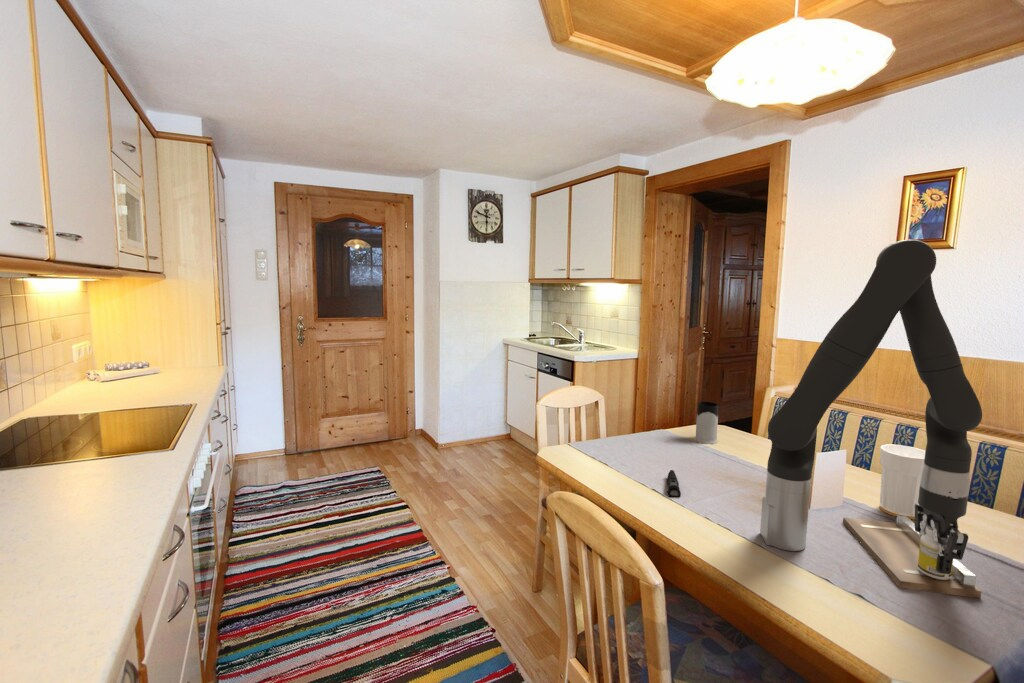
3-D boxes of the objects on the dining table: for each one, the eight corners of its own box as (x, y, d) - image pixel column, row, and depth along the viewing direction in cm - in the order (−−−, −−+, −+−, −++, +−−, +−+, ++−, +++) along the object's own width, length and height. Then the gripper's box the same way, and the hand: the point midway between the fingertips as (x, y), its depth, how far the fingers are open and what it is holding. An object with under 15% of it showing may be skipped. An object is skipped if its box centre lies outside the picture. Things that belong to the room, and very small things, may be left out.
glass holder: (694, 442, 191) (696, 405, 189) (693, 432, 204) (695, 397, 202) (718, 445, 188) (720, 407, 186) (715, 434, 201) (717, 399, 199)
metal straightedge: (963, 586, 98) (964, 574, 98) (896, 524, 123) (897, 515, 123) (975, 587, 98) (976, 576, 98) (905, 525, 123) (906, 516, 123)
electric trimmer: (678, 479, 156) (678, 469, 156) (680, 499, 141) (681, 488, 141) (665, 478, 157) (666, 468, 157) (667, 497, 143) (667, 487, 142)
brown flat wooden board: (899, 587, 100) (900, 580, 100) (842, 522, 127) (843, 517, 127) (980, 598, 97) (981, 590, 97) (904, 529, 124) (905, 523, 124)
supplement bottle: (934, 565, 105) (939, 522, 104) (958, 580, 100) (964, 535, 98) (910, 565, 105) (915, 522, 104) (932, 581, 99) (938, 536, 98)
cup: (878, 515, 131) (884, 454, 129) (870, 499, 141) (876, 441, 139) (932, 525, 126) (939, 461, 124) (920, 507, 136) (926, 448, 134)
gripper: (903, 472, 108) (895, 544, 110) (943, 501, 94) (933, 582, 96) (943, 476, 106) (934, 548, 108) (990, 505, 92) (979, 588, 94)
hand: (934, 564), depth 102 cm, fingers closed on supplement bottle, 5 cm apart
